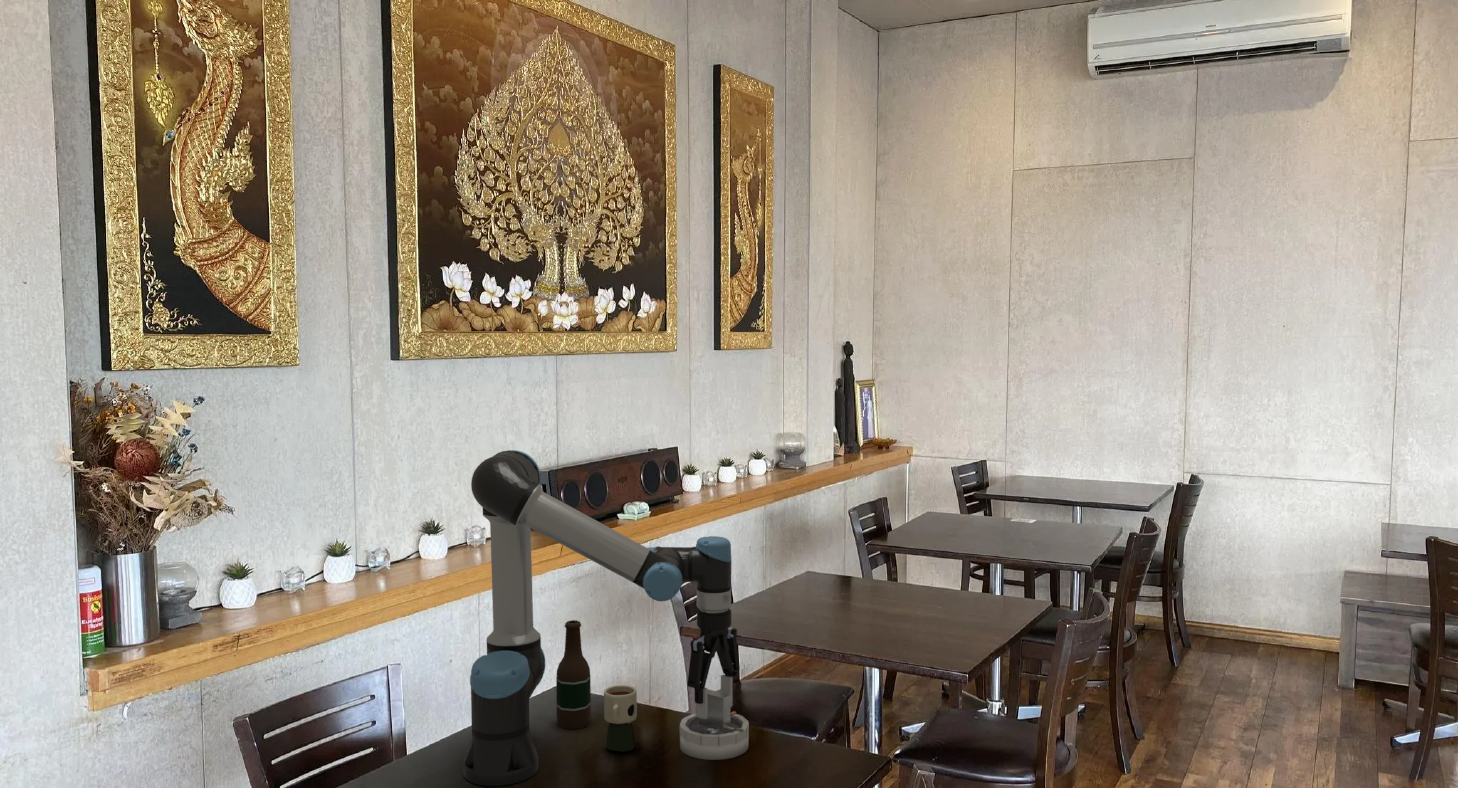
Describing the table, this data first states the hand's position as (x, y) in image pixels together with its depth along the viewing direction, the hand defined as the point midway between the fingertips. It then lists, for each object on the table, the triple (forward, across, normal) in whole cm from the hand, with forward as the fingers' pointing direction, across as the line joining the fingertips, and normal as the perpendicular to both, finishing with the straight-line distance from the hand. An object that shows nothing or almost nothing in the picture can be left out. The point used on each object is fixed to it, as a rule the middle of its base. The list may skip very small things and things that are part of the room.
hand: (714, 710), depth 226 cm
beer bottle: (+8, -9, +34) cm, 36 cm away
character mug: (+8, -14, +15) cm, 22 cm away
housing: (+8, 0, 0) cm, 8 cm away
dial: (+5, 0, 0) cm, 5 cm away
